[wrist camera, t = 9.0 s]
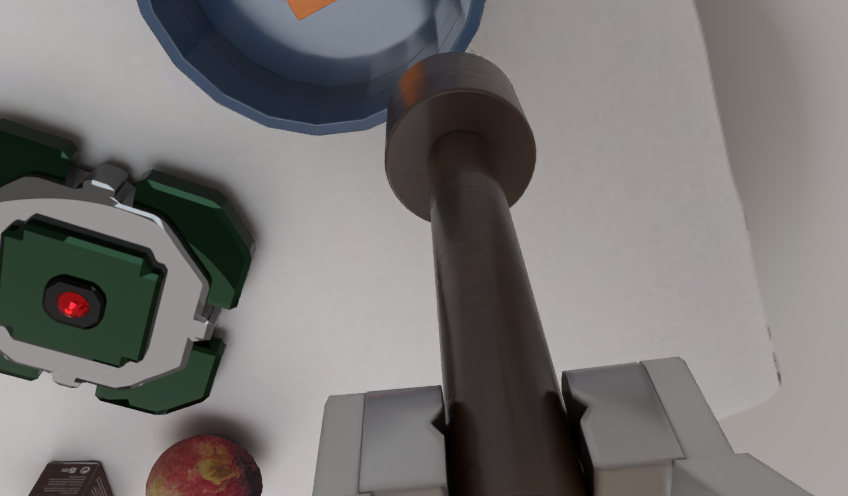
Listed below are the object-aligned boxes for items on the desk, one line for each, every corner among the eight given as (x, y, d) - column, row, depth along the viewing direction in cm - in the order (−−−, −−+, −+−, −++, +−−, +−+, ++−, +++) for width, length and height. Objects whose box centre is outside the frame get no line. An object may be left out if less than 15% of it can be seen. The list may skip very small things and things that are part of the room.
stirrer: (514, 42, 18) (816, 611, 5) (521, 167, 19) (749, 816, 7) (376, 60, 18) (309, 658, 5) (397, 183, 20) (386, 846, 7)
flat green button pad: (208, 401, 49) (190, 449, 45) (-57, 329, 46) (-101, 376, 42) (274, 197, 41) (259, 236, 37) (-47, 89, 37) (-101, 120, 33)
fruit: (159, 409, 50) (118, 501, 43) (264, 410, 50) (240, 502, 43) (177, 480, 54) (142, 574, 47) (274, 480, 54) (253, 574, 47)
